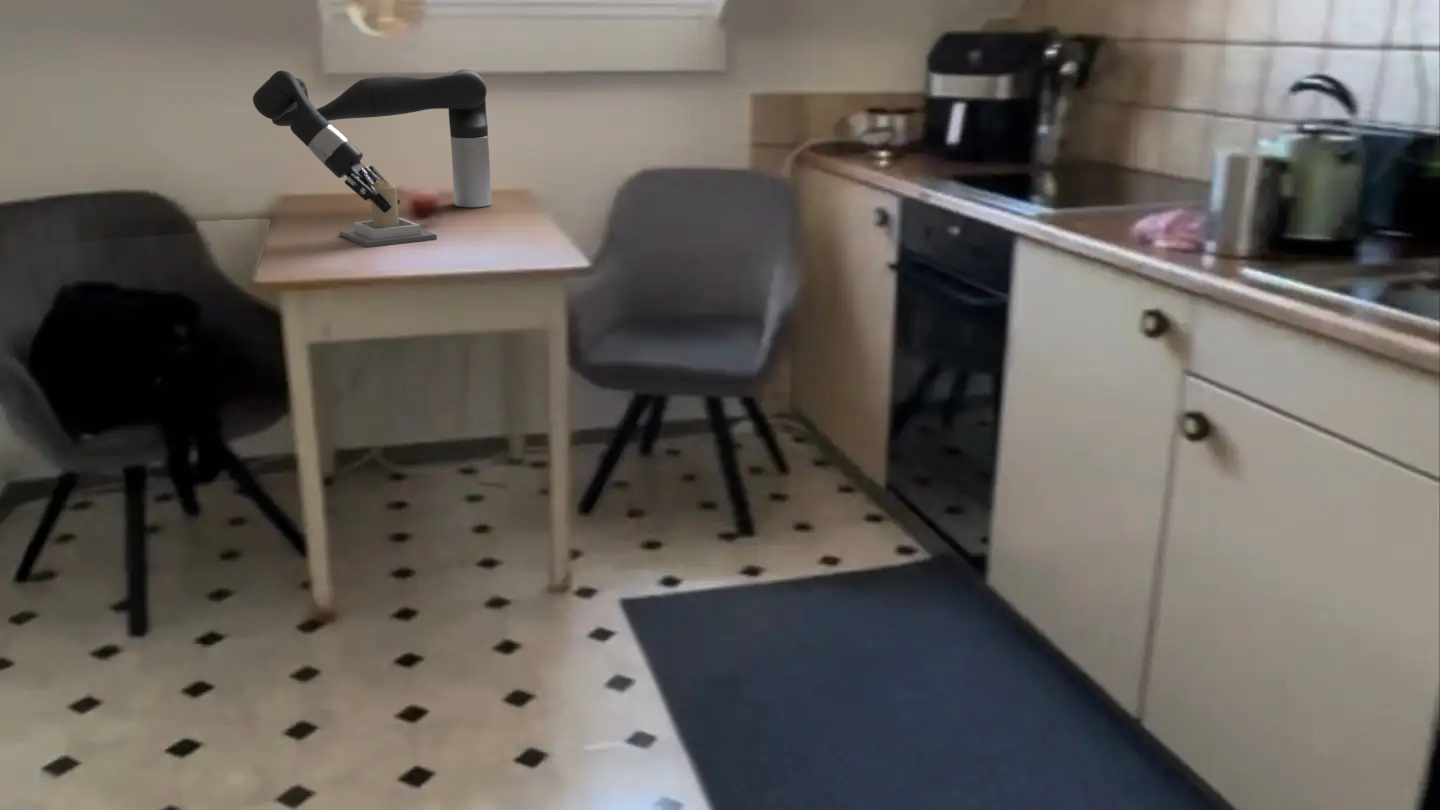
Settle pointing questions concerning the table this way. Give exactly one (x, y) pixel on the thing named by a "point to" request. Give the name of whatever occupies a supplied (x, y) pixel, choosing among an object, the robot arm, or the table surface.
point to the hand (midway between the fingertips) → (392, 207)
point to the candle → (391, 215)
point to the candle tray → (387, 233)
